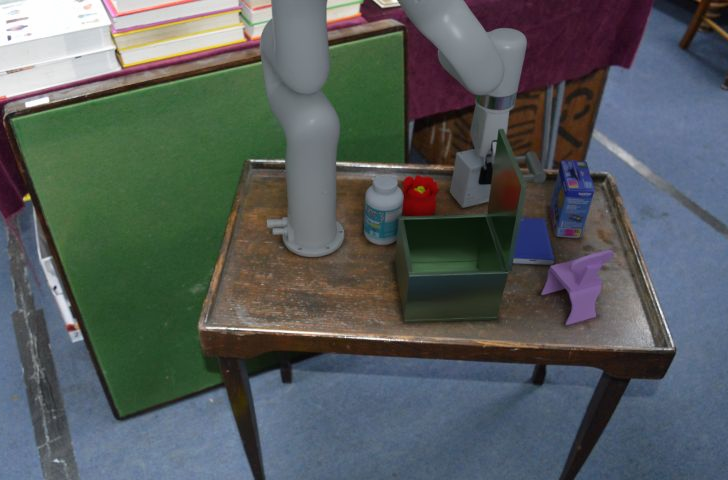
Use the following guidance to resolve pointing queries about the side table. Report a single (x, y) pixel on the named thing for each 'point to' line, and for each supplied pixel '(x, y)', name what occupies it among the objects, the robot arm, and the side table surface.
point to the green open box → (449, 268)
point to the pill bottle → (383, 210)
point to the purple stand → (579, 283)
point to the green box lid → (509, 194)
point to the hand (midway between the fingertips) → (482, 171)
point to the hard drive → (533, 243)
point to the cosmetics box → (469, 179)
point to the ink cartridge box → (571, 199)
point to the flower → (419, 196)
